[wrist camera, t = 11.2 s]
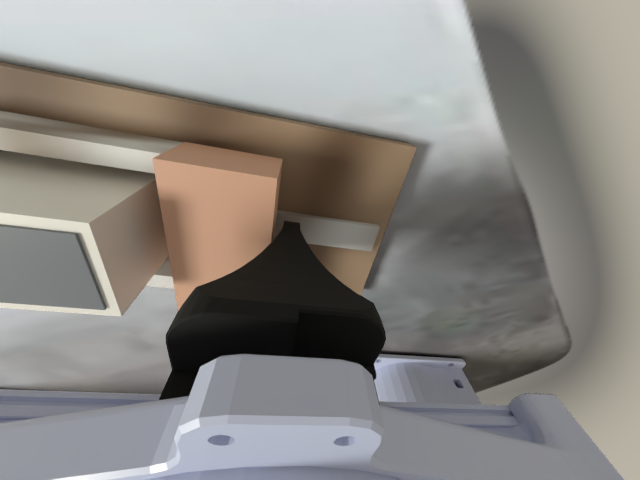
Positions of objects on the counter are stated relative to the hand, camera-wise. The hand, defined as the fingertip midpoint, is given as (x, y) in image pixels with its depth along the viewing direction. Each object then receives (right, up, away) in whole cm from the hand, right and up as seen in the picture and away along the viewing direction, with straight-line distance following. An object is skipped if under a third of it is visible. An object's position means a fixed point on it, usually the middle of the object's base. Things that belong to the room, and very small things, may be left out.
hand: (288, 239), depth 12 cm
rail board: (-5, +2, +1) cm, 5 cm away
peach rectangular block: (-3, +1, 0) cm, 3 cm away
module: (-9, +2, 0) cm, 9 cm away
